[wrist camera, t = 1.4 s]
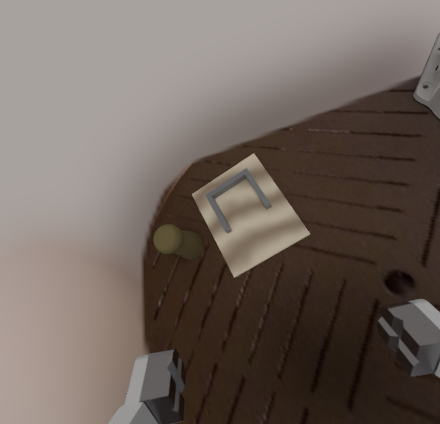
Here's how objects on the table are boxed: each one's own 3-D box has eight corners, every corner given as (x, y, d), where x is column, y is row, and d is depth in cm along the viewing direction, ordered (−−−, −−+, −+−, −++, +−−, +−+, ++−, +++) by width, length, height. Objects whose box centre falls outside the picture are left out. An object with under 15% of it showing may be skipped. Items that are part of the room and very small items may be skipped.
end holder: (271, 206, 45) (270, 203, 44) (228, 233, 47) (225, 231, 45) (248, 171, 49) (246, 167, 47) (208, 197, 50) (205, 194, 49)
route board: (310, 234, 43) (310, 233, 42) (235, 277, 45) (234, 277, 44) (254, 155, 50) (254, 153, 50) (193, 195, 53) (191, 194, 52)
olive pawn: (179, 261, 50) (148, 258, 40) (177, 234, 52) (147, 223, 42) (205, 257, 48) (180, 252, 38) (202, 228, 50) (177, 217, 40)
